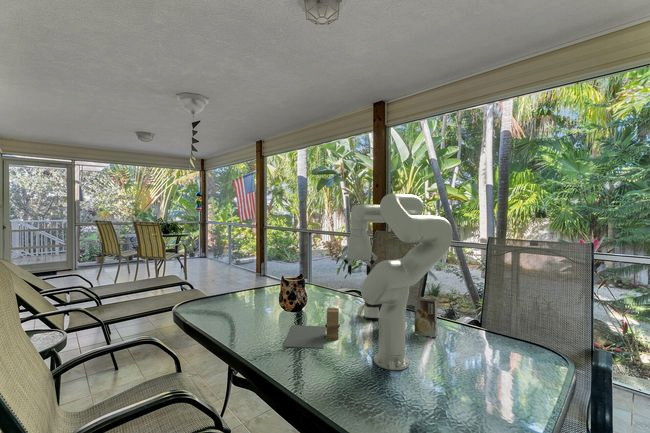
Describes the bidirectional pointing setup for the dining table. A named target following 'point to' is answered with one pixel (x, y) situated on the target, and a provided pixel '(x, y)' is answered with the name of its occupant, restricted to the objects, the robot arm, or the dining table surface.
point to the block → (332, 323)
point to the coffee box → (426, 316)
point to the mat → (305, 337)
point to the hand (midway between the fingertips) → (358, 274)
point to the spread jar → (369, 311)
